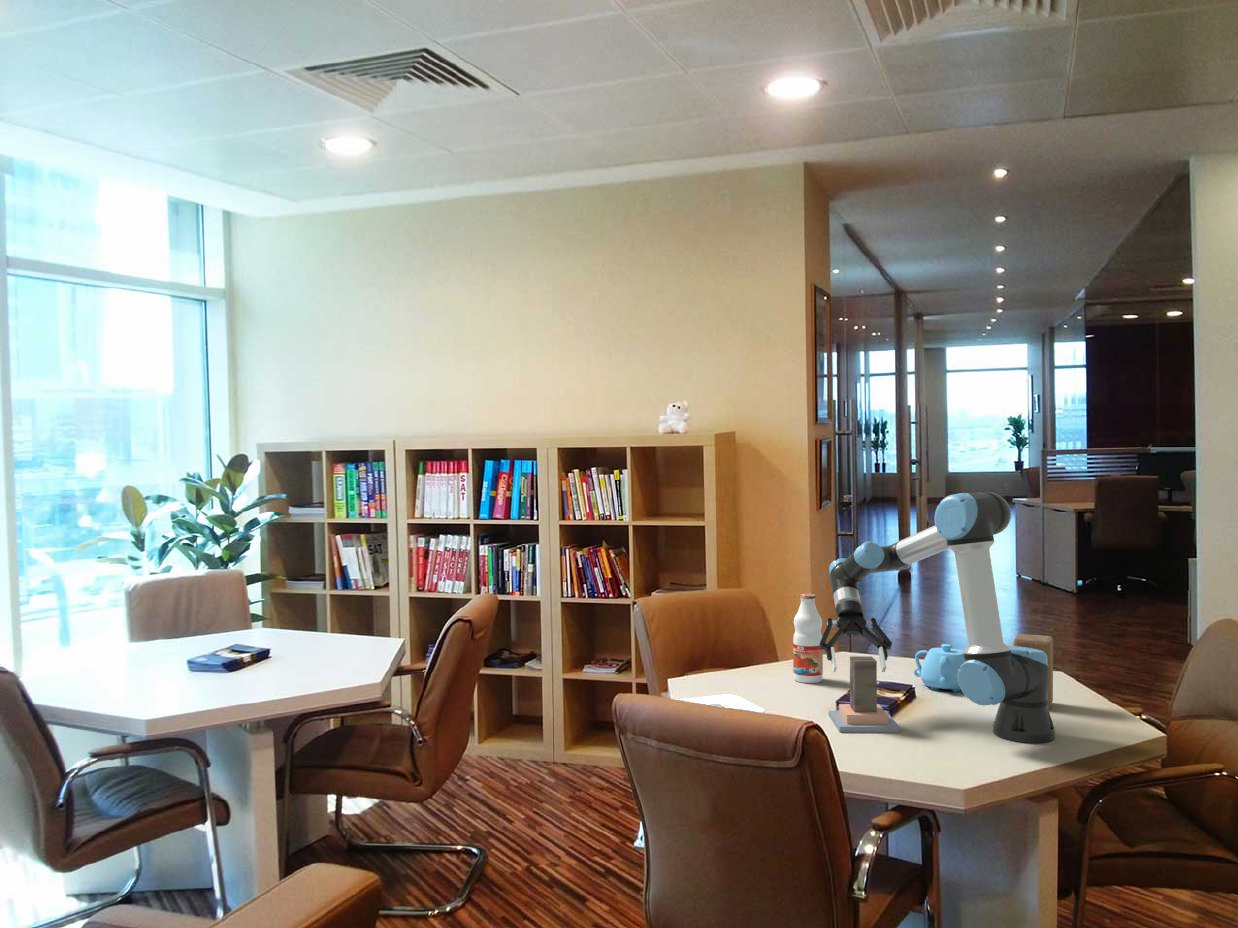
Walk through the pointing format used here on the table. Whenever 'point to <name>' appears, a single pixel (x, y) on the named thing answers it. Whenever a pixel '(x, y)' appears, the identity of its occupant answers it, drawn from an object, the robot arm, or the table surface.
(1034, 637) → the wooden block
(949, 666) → the decorative pot
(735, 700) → the computer
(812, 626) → the fruit juice
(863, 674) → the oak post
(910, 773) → the table surface
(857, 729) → the plinth
